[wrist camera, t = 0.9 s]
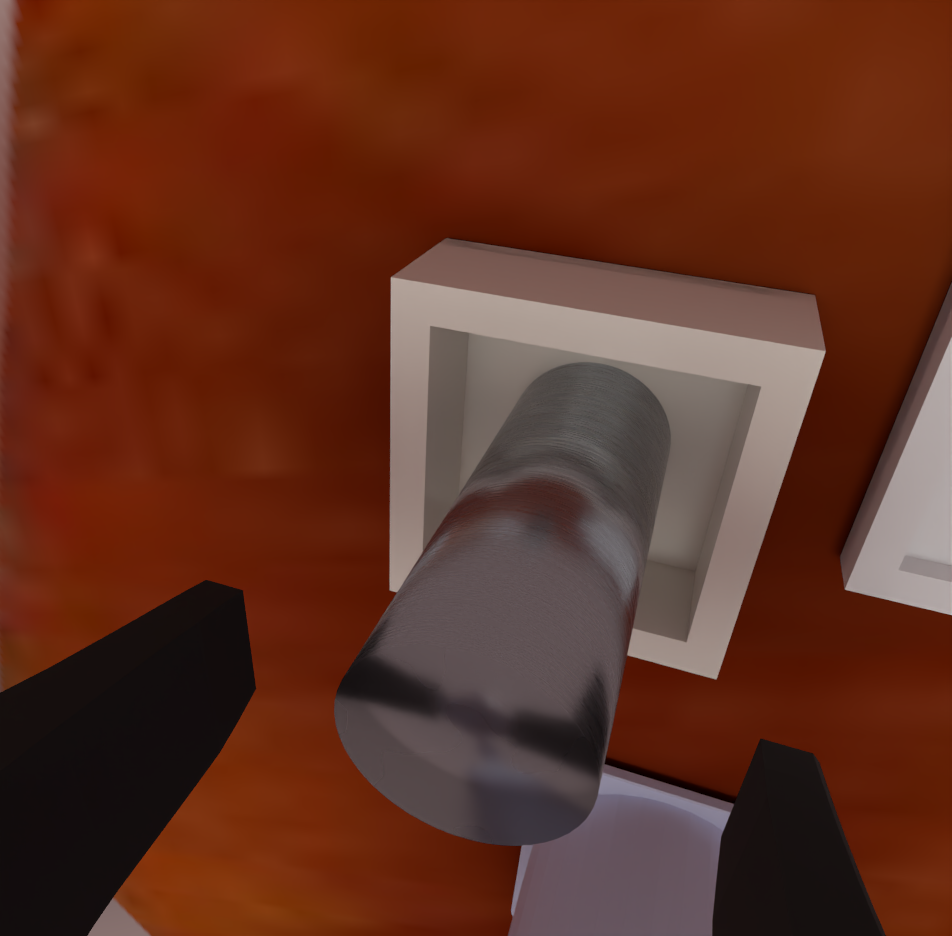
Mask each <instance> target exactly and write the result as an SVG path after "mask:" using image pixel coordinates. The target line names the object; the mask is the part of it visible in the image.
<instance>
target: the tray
mask: <svg viewBox="0 0 952 936" xmlns="http://www.w3.org/2000/svg"><path fill="white" fill-rule="evenodd" d="M840 561H841V568H842V575H843V582H844V589H845V590H848V591H853V592H857V593H861V594H865V595H869V596H874V597H878V598H882V599H886V600H890V601H895V602H899V603H903V604H907V605H911V606H916V607H920V608H924V609H928V610H933V611H937V612H941V613H945V614H949V615H952V283H951V285H950V288H949V290H948V293H947V295H946V298H945V300H944V303H943V305H942V307H941V310H940V312H939V315H938V317H937V320H936V322H935V325H934V327H933V330H932V332H931V334H930V337H929V339H928V342H927V344H926V347H925V349H924V352H923V354H922V357H921V359H920V361H919V364H918V366H917V369H916V371H915V374H914V376H913V379H912V381H911V384H910V386H909V388H908V391H907V393H906V396H905V398H904V401H903V403H902V406H901V408H900V411H899V413H898V415H897V418H896V420H895V423H894V425H893V428H892V430H891V433H890V435H889V438H888V440H887V443H886V445H885V447H884V450H883V452H882V455H881V457H880V460H879V462H878V465H877V467H876V470H875V472H874V474H873V477H872V479H871V482H870V484H869V487H868V489H867V492H866V494H865V497H864V499H863V501H862V504H861V506H860V509H859V511H858V514H857V516H856V519H855V521H854V524H853V526H852V528H851V531H850V533H849V536H848V538H847V541H846V543H845V546H844V548H843V551H842V553H841V555H840Z"/></svg>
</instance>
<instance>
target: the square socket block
mask: <svg viewBox="0 0 952 936" xmlns="http://www.w3.org/2000/svg"><path fill="white" fill-rule="evenodd" d="M825 352H826V350H825V345H824V339H823V334H822V329H821V324H820V318H819V313H818V308H817V303H816V298H815V295H811V294H805V293H798V292H792V291H785V290H779V289H772V288H766V287H759V286H753V285H747V284H740V283H734V282H727V281H721V280H714V279H708V278H701V277H695V276H688V275H682V274H675V273H669V272H663V271H656V270H650V269H643V268H637V267H630V266H624V265H617V264H611V263H604V262H598V261H592V260H585V259H579V258H572V257H566V256H559V255H553V254H546V253H540V252H533V251H527V250H521V249H514V248H508V247H501V246H495V245H488V244H482V243H475V242H469V241H462V240H456V239H449V238H446V239H444V240H443V241H441V242H440V243H438V244H437V245H436V246H434V247H433V248H431V249H430V250H429V251H427V252H426V253H424V254H423V255H422V256H420V257H419V258H417V259H416V260H414V261H413V262H412V263H410V264H409V265H407V266H406V267H405V268H403V269H402V270H400V271H399V272H398V273H396V274H395V275H393V276H392V277H391V384H390V590H391V591H394V592H398V590H399V589H400V587H401V586H402V584H403V583H404V581H405V579H406V578H407V576H408V575H409V573H410V571H411V570H412V568H413V567H414V565H415V563H416V562H417V560H418V559H419V557H420V556H421V554H422V552H423V551H424V549H425V548H426V546H427V544H428V543H429V541H430V540H431V538H432V536H433V535H434V533H435V532H436V530H437V529H438V527H439V525H440V524H441V522H442V521H443V519H444V517H445V516H446V514H447V513H448V511H449V509H450V508H451V506H452V505H453V503H454V502H455V500H456V498H457V497H458V495H459V494H460V492H461V490H462V489H463V487H464V486H465V484H466V482H467V481H468V479H469V478H470V476H471V475H472V473H473V471H474V470H475V468H476V467H477V465H478V463H479V462H480V460H481V459H482V457H483V455H484V454H485V452H486V451H487V449H488V448H489V446H490V444H491V443H492V441H493V440H494V438H495V436H496V435H497V433H498V432H499V430H500V428H501V427H502V425H503V424H504V422H505V421H506V419H507V417H508V416H509V414H510V413H511V411H512V409H513V408H514V406H515V405H516V403H517V401H518V400H519V398H520V397H521V395H522V394H523V392H524V391H525V390H526V388H527V387H528V386H529V385H530V384H531V383H532V382H533V381H534V380H535V379H536V378H538V377H539V376H540V375H542V374H543V373H545V372H547V371H549V370H551V369H553V368H556V367H558V366H562V365H565V364H570V363H578V362H592V363H600V364H605V365H609V366H613V367H615V368H618V369H620V370H623V371H625V372H627V373H629V374H630V375H632V376H634V377H635V378H637V379H638V380H640V381H641V382H642V383H643V384H644V385H645V386H647V387H648V388H649V389H650V390H651V391H652V393H653V394H654V395H655V396H656V397H657V399H658V400H659V402H660V404H661V405H662V407H663V409H664V411H665V413H666V416H667V419H668V422H669V426H670V432H671V446H670V453H669V458H668V462H667V467H666V472H665V477H664V481H663V486H662V491H661V496H660V501H659V505H658V510H657V515H656V520H655V524H654V529H653V534H652V539H651V544H650V548H649V553H648V558H647V563H646V567H645V572H644V577H643V582H642V587H641V591H640V596H639V601H638V606H637V610H636V615H635V620H634V625H633V629H632V634H631V639H630V644H629V649H628V653H627V655H629V656H632V657H636V658H640V659H643V660H647V661H651V662H654V663H658V664H662V665H665V666H669V667H672V668H676V669H680V670H683V671H687V672H691V673H694V674H698V675H702V676H705V677H709V678H713V679H717V676H718V673H719V670H720V667H721V664H722V661H723V658H724V655H725V652H726V649H727V646H728V643H729V640H730V637H731V634H732V631H733V628H734V625H735V622H736V619H737V616H738V613H739V610H740V607H741V604H742V601H743V598H744V595H745V592H746V589H747V586H748V583H749V580H750V577H751V574H752V571H753V568H754V565H755V562H756V559H757V556H758V553H759V550H760V547H761V544H762V541H763V538H764V535H765V532H766V529H767V526H768V523H769V520H770V517H771V514H772V511H773V508H774V505H775V502H776V499H777V496H778V493H779V490H780V487H781V484H782V481H783V478H784V475H785V472H786V469H787V466H788V463H789V460H790V457H791V454H792V451H793V448H794V445H795V442H796V439H797V436H798V433H799V430H800V427H801V424H802V421H803V418H804V415H805V412H806V409H807V406H808V403H809V400H810V397H811V394H812V391H813V388H814V385H815V382H816V379H817V376H818V373H819V370H820V367H821V364H822V361H823V358H824V355H825Z"/></svg>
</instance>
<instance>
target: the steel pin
mask: <svg viewBox="0 0 952 936" xmlns="http://www.w3.org/2000/svg"><path fill="white" fill-rule="evenodd" d="M670 446H671V432H670V426H669V422H668V419H667V416H666V413H665V411H664V409H663V407H662V405H661V404H660V402H659V400H658V399H657V397H656V396H655V395H654V394H653V393H652V391H651V390H650V389H649V388H648V387H647V386H645V385H644V384H643V383H642V382H641V381H640V380H638V379H637V378H635V377H634V376H632V375H630V374H629V373H627V372H625V371H623V370H620V369H618V368H615V367H613V366H609V365H605V364H600V363H592V362H578V363H570V364H565V365H562V366H558V367H556V368H553V369H551V370H549V371H547V372H545V373H543V374H542V375H540V376H539V377H538V378H536V379H535V380H534V381H533V382H532V383H531V384H530V385H529V386H528V387H527V388H526V390H525V391H524V392H523V394H522V395H521V397H520V398H519V400H518V401H517V403H516V405H515V406H514V408H513V409H512V411H511V413H510V414H509V416H508V417H507V419H506V421H505V422H504V424H503V425H502V427H501V428H500V430H499V432H498V433H497V435H496V436H495V438H494V440H493V441H492V443H491V444H490V446H489V448H488V449H487V451H486V452H485V454H484V455H483V457H482V459H481V460H480V462H479V463H478V465H477V467H476V468H475V470H474V471H473V473H472V475H471V476H470V478H469V479H468V481H467V482H466V484H465V486H464V487H463V489H462V490H461V492H460V494H459V495H458V497H457V498H456V500H455V502H454V503H453V505H452V506H451V508H450V509H449V511H448V513H447V514H446V516H445V517H444V519H443V521H442V522H441V524H440V525H439V527H438V529H437V530H436V532H435V533H434V535H433V536H432V538H431V540H430V541H429V543H428V544H427V546H426V548H425V549H424V551H423V552H422V554H421V556H420V557H419V559H418V560H417V562H416V563H415V565H414V567H413V568H412V570H411V571H410V573H409V575H408V576H407V578H406V579H405V581H404V583H403V584H402V586H401V587H400V589H399V590H398V592H397V594H396V595H395V597H394V598H393V600H392V602H391V603H390V605H389V606H388V608H387V610H386V611H385V613H384V614H383V616H382V617H381V619H380V621H379V622H378V624H377V625H376V627H375V629H374V630H373V632H372V633H371V635H370V637H369V638H368V640H367V641H366V643H365V644H364V646H363V648H362V649H361V651H360V652H359V654H358V656H357V657H356V659H355V660H354V662H353V663H352V665H351V667H350V668H349V670H348V671H347V673H346V675H345V676H344V678H343V679H342V681H341V683H340V686H339V688H338V690H337V694H336V698H335V709H334V714H335V721H336V726H337V730H338V733H339V737H340V739H341V741H342V743H343V746H344V748H345V750H346V751H347V753H348V755H349V756H350V758H351V760H352V761H353V763H354V764H355V765H356V767H357V768H358V769H359V771H360V772H361V773H362V774H363V775H364V776H365V778H366V779H367V780H368V781H369V782H370V783H371V784H372V785H373V786H374V787H375V788H376V789H377V790H378V791H379V792H381V793H382V794H383V795H384V796H385V797H387V798H388V799H389V800H390V801H392V802H393V803H394V804H395V805H397V806H398V807H400V808H401V809H403V810H404V811H406V812H407V813H409V814H411V815H412V816H414V817H416V818H418V819H419V820H421V821H423V822H425V823H427V824H429V825H431V826H433V827H436V828H438V829H440V830H443V831H445V832H448V833H450V834H453V835H456V836H459V837H463V838H466V839H469V840H474V841H478V842H483V843H489V844H496V845H509V846H522V845H534V844H539V843H545V842H548V841H552V840H555V839H558V838H560V837H562V836H564V835H566V834H568V833H570V832H572V831H573V830H574V829H576V828H577V827H579V826H580V825H581V824H582V823H583V822H584V821H585V820H586V819H587V817H588V816H589V814H590V813H591V811H592V809H593V808H594V805H595V802H596V799H597V797H598V792H599V787H600V782H601V778H602V773H603V768H604V763H605V758H606V754H607V749H608V744H609V739H610V735H611V730H612V725H613V720H614V715H615V711H616V706H617V701H618V696H619V692H620V687H621V682H622V677H623V672H624V668H625V663H626V658H627V653H628V649H629V644H630V639H631V634H632V629H633V625H634V620H635V615H636V610H637V606H638V601H639V596H640V591H641V587H642V582H643V577H644V572H645V567H646V563H647V558H648V553H649V548H650V544H651V539H652V534H653V529H654V524H655V520H656V515H657V510H658V505H659V501H660V496H661V491H662V486H663V481H664V477H665V472H666V467H667V462H668V458H669V453H670Z"/></svg>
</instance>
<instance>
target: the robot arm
mask: <svg viewBox="0 0 952 936" xmlns="http://www.w3.org/2000/svg"><path fill="white" fill-rule="evenodd" d="M255 689H256V686H255V678H254V671H253V663H252V656H251V648H250V641H249V634H248V626H247V619H246V611H245V604H244V596H243V590H240V589H236V588H233V587H229V586H226V585H222V584H219V583H215V582H212V581H208V580H205V581H203V582H201V583H200V584H198V585H196V586H194V587H192V588H190V589H188V590H187V591H185V592H183V593H181V594H179V595H178V596H176V597H174V598H172V599H170V600H169V601H167V602H165V603H163V604H162V605H160V606H158V607H156V608H155V609H153V610H151V611H149V612H148V613H146V614H144V615H142V616H141V617H139V618H137V619H135V620H134V621H132V622H130V623H128V624H127V625H125V626H123V627H121V628H120V629H118V630H116V631H114V632H113V633H111V634H109V635H107V636H106V637H104V638H102V639H100V640H98V641H97V642H95V643H93V644H91V645H89V646H88V647H86V648H84V649H82V650H80V651H79V652H77V653H75V654H73V655H71V656H70V657H68V658H66V659H64V660H62V661H61V662H59V663H57V664H55V665H53V666H51V667H50V668H48V669H46V670H44V671H42V672H40V673H38V674H36V675H34V676H32V677H30V678H28V679H26V680H24V681H22V682H20V683H18V684H17V685H15V686H13V687H11V688H9V689H7V690H5V691H3V692H1V693H0V936H87V935H88V934H89V932H90V931H91V929H92V927H93V926H94V924H95V923H96V921H97V920H98V918H99V917H100V915H101V914H102V913H103V911H104V910H105V908H106V907H107V905H108V904H109V903H110V901H111V900H112V898H113V897H114V895H115V894H116V892H117V891H118V890H119V888H120V887H121V886H122V884H123V883H124V882H125V880H126V879H127V878H128V876H129V875H130V874H131V872H132V871H133V869H134V868H135V867H136V865H137V864H138V863H139V861H140V860H141V859H142V857H143V856H144V855H145V853H146V852H147V851H148V849H149V848H150V847H151V845H152V844H153V843H154V841H155V840H156V839H157V837H158V836H159V835H160V833H161V832H162V831H163V829H164V828H165V826H166V825H167V824H168V822H169V821H170V820H171V818H172V817H173V816H174V814H175V813H176V812H177V810H178V809H179V808H180V806H181V805H182V804H183V802H184V801H185V800H186V798H187V797H188V796H189V794H190V793H191V791H192V790H193V789H194V787H195V786H196V785H197V783H198V782H199V780H200V779H201V778H202V776H203V775H204V774H205V772H206V771H207V770H208V768H209V767H210V765H211V764H212V763H213V761H214V760H215V758H216V757H217V756H218V754H219V753H220V751H221V750H222V748H223V746H224V744H225V743H226V741H227V739H228V738H229V736H230V734H231V733H232V731H233V729H234V727H235V726H236V724H237V722H238V720H239V719H240V717H241V715H242V713H243V711H244V710H245V708H246V706H247V704H248V702H249V700H250V699H251V697H252V695H253V693H254V691H255ZM511 914H512V916H513V919H512V922H511V926H510V930H509V933H508V936H886V935H885V933H884V930H883V928H882V926H881V924H880V921H879V919H878V917H877V914H876V912H875V910H874V908H873V905H872V903H871V900H870V898H869V895H868V893H867V891H866V888H865V886H864V883H863V881H862V878H861V876H860V873H859V871H858V868H857V866H856V863H855V861H854V858H853V855H852V853H851V850H850V848H849V845H848V843H847V840H846V837H845V835H844V832H843V829H842V827H841V824H840V821H839V818H838V816H837V813H836V810H835V807H834V804H833V802H832V799H831V796H830V793H829V790H828V787H827V784H826V781H825V778H824V775H823V772H822V769H821V766H820V763H819V761H818V760H817V758H816V757H815V756H814V754H813V753H809V752H806V751H802V750H799V749H795V748H792V747H788V746H785V745H781V744H778V743H774V742H771V741H767V740H764V739H760V741H759V744H758V746H757V749H756V751H755V754H754V756H753V759H752V761H751V764H750V766H749V769H748V771H747V773H746V776H745V778H744V781H743V783H742V786H741V788H740V791H739V793H738V796H737V798H736V801H735V803H734V804H732V803H729V802H726V801H723V800H719V799H716V798H713V797H710V796H706V795H703V794H700V793H697V792H693V791H690V790H687V789H684V788H680V787H677V786H674V785H671V784H667V783H664V782H661V781H658V780H654V779H651V778H648V777H645V776H641V775H638V774H635V773H632V772H629V771H625V770H622V769H619V768H616V767H612V766H609V765H606V764H604V768H603V773H602V778H601V782H600V787H599V792H598V797H597V799H596V802H595V805H594V808H593V809H592V811H591V813H590V814H589V816H588V817H587V819H586V820H585V821H584V822H583V823H582V824H581V825H580V826H579V827H577V828H576V829H574V830H573V831H572V832H570V833H568V834H566V835H564V836H562V837H560V838H558V839H555V840H552V841H548V842H545V843H539V844H534V845H522V847H521V853H520V859H519V865H518V871H517V877H516V883H515V889H514V895H513V901H512V907H511Z"/></svg>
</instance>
